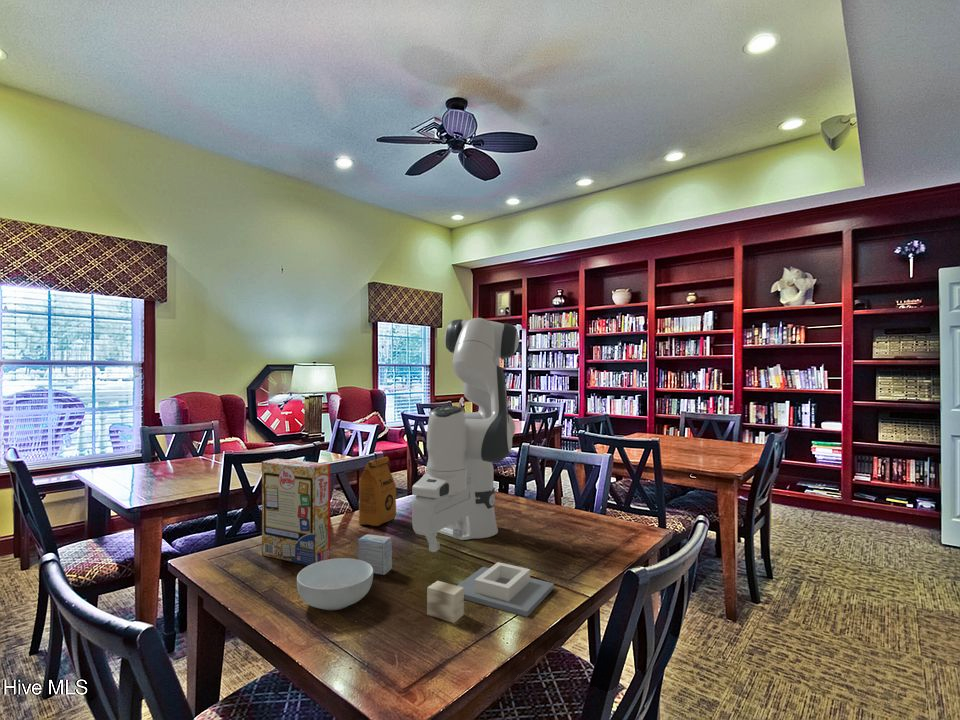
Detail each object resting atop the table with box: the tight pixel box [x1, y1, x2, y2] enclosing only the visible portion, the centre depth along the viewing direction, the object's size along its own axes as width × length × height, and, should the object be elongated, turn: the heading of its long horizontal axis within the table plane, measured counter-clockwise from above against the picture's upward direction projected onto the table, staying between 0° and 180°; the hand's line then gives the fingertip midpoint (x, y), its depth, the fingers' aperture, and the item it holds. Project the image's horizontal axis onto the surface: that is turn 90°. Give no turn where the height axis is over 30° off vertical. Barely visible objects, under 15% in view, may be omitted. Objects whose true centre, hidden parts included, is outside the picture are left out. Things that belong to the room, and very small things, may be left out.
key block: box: [426, 580, 465, 624], centre depth 110 cm, size 7×4×6 cm, turn 60°
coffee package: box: [358, 456, 397, 527], centre depth 173 cm, size 10×12×22 cm
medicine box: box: [357, 533, 393, 576], centre depth 133 cm, size 8×4×9 cm, turn 71°
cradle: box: [456, 561, 555, 618], centre depth 121 cm, size 20×16×4 cm
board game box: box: [261, 458, 331, 566], centre depth 141 cm, size 20×6×27 cm, turn 65°
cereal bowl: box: [296, 557, 374, 611], centre depth 116 cm, size 17×17×7 cm
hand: (446, 544), depth 110 cm, fingers open, 8 cm apart
